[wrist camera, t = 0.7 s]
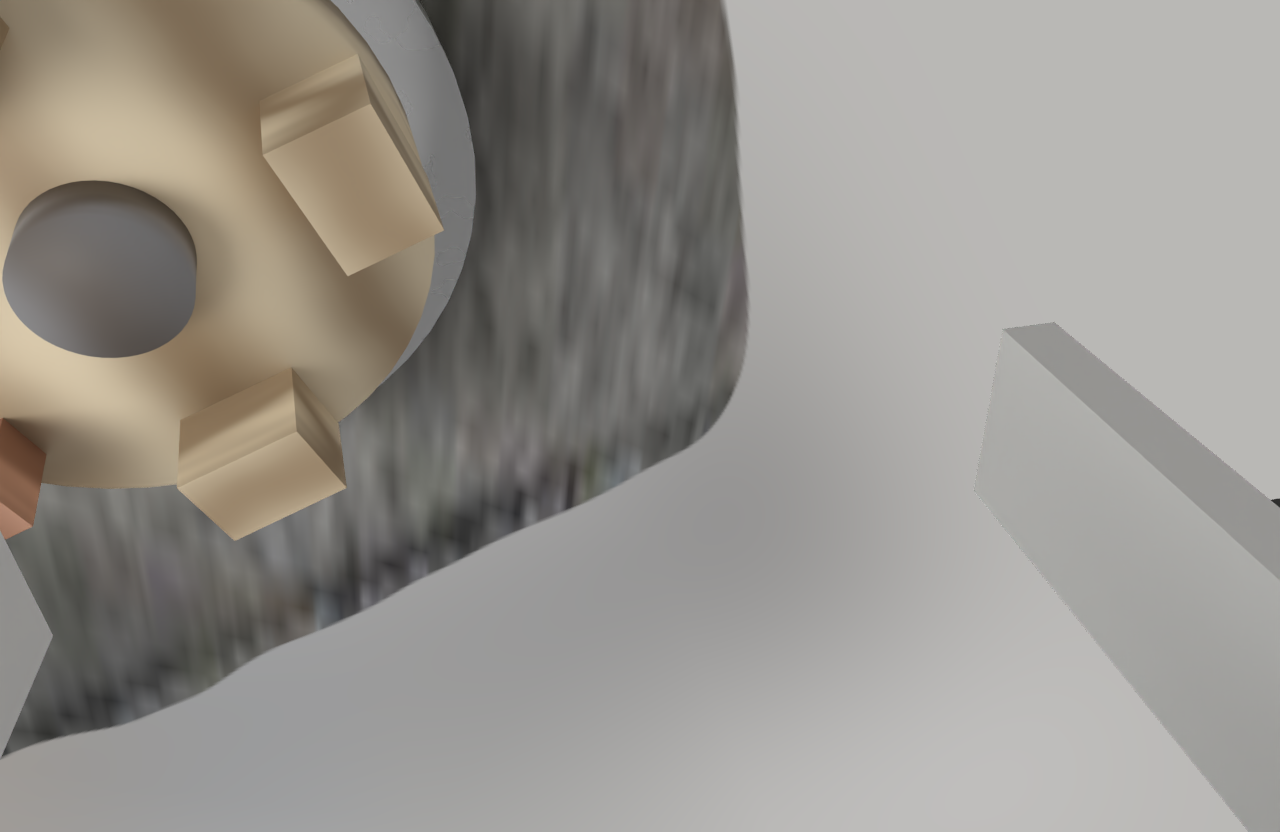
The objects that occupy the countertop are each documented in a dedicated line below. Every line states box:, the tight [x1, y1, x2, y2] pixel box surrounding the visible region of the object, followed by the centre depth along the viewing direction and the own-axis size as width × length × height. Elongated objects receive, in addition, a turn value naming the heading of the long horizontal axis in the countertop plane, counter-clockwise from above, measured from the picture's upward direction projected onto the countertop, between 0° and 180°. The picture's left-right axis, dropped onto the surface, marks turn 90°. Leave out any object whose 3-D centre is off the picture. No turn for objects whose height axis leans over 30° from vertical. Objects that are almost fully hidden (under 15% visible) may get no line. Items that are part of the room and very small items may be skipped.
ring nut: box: [0, 0, 444, 541], centre depth 30 cm, size 20×20×6 cm
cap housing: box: [331, 0, 476, 386], centre depth 33 cm, size 24×24×4 cm
